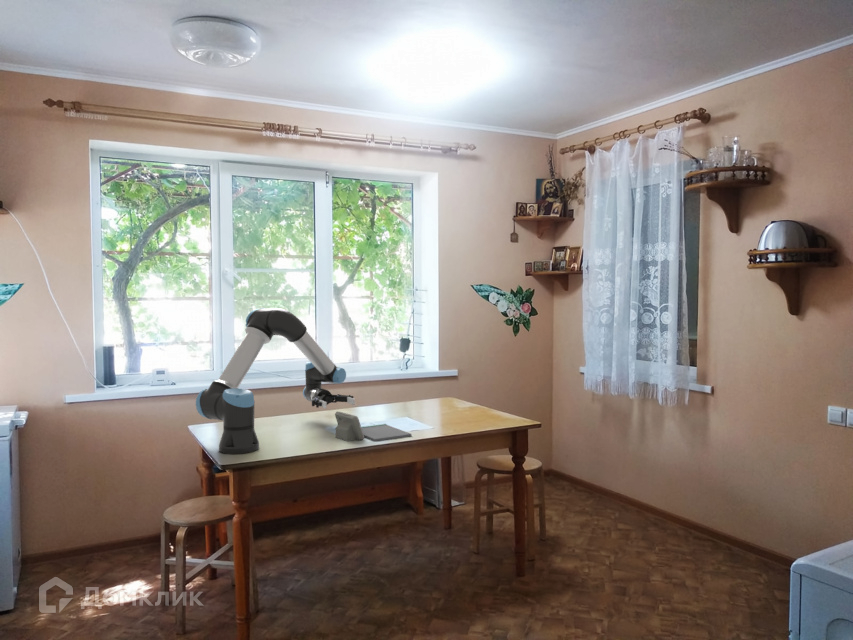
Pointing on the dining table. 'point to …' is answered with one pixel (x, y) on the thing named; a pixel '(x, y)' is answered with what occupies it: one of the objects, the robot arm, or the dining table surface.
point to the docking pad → (383, 432)
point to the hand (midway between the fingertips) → (340, 403)
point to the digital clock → (348, 427)
